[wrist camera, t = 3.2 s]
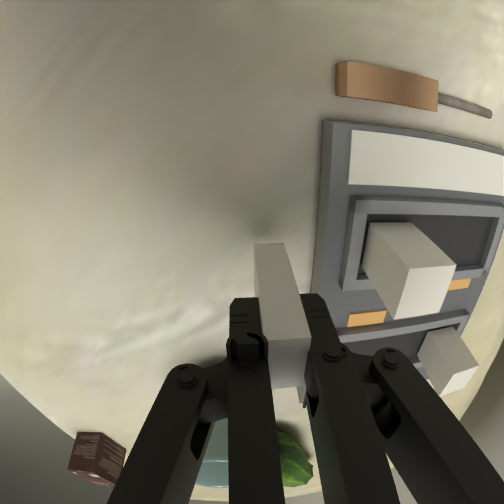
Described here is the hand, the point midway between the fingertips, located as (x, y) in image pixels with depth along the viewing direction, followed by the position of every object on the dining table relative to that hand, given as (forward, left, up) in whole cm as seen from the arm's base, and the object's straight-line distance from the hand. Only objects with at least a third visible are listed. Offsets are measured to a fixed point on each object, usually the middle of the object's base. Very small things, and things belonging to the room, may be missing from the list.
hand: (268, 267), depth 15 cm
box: (+34, -24, -4) cm, 42 cm away
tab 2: (+10, +16, -2) cm, 18 cm away
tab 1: (0, +8, -2) cm, 8 cm away
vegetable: (+33, +3, -5) cm, 34 cm away
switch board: (+5, +12, -4) cm, 13 cm away
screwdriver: (-10, +10, -4) cm, 15 cm away
